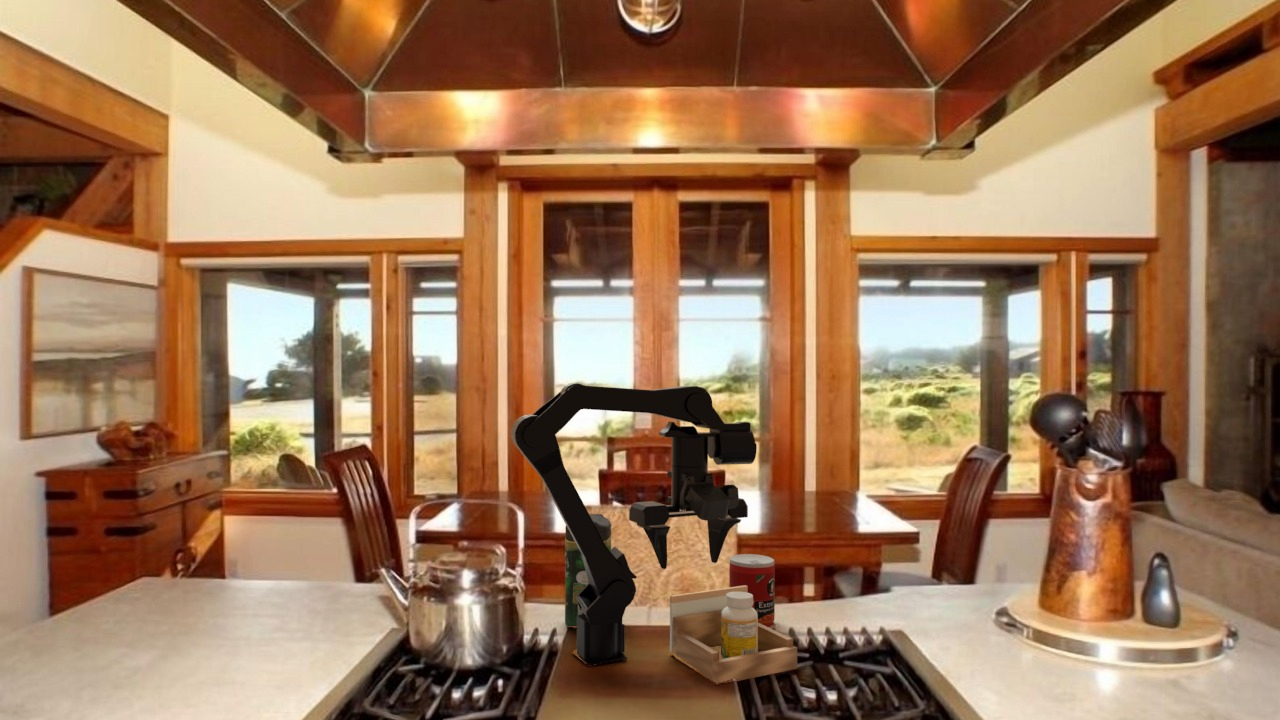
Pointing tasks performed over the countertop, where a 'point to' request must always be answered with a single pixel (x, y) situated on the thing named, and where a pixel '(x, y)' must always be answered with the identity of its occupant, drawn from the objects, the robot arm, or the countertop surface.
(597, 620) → the robot arm
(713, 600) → the lid panel
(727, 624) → the supplement bottle
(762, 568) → the canned food
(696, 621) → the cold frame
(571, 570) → the coffee jar
